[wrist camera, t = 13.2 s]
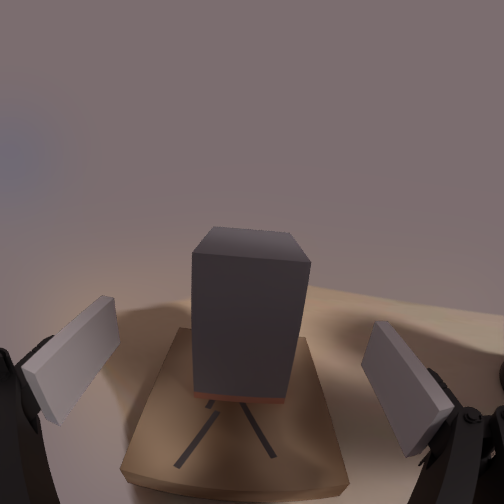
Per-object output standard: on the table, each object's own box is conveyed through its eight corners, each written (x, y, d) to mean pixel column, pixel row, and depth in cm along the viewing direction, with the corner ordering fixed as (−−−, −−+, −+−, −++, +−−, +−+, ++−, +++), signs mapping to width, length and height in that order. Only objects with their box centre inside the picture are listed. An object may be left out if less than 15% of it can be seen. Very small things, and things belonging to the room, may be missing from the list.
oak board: (302, 352, 25) (305, 337, 25) (339, 495, 10) (349, 483, 10) (180, 342, 25) (179, 327, 25) (127, 482, 10) (119, 469, 9)
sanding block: (275, 341, 24) (289, 232, 21) (283, 403, 16) (311, 262, 14) (209, 336, 24) (213, 226, 21) (194, 397, 16) (192, 252, 14)
